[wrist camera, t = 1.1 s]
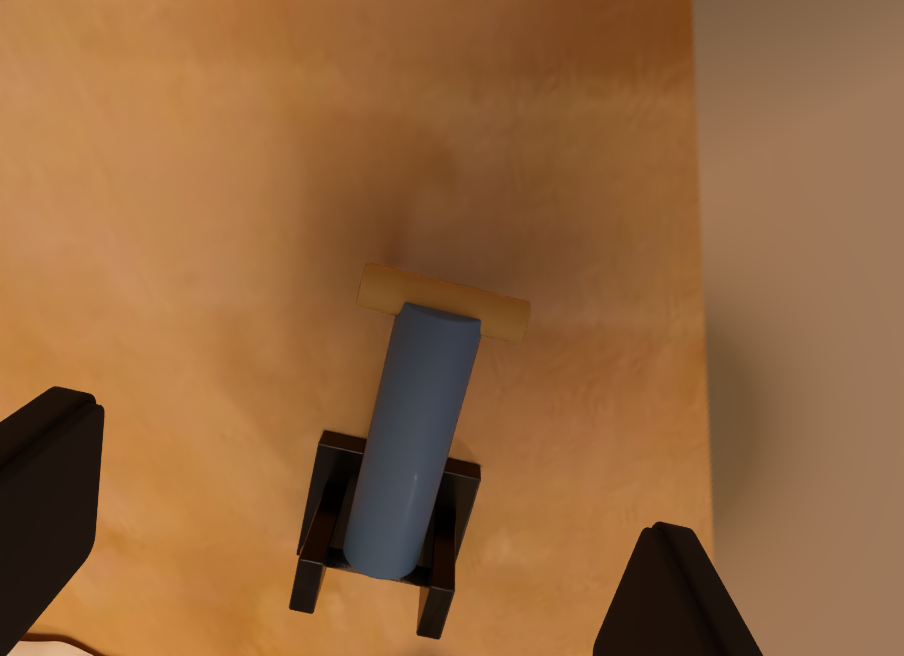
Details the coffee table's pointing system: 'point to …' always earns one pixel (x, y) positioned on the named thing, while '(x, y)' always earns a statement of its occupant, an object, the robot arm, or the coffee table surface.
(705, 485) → the coffee table surface
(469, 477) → the bracket
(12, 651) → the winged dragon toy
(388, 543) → the t-shaped handle
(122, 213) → the coffee table surface
